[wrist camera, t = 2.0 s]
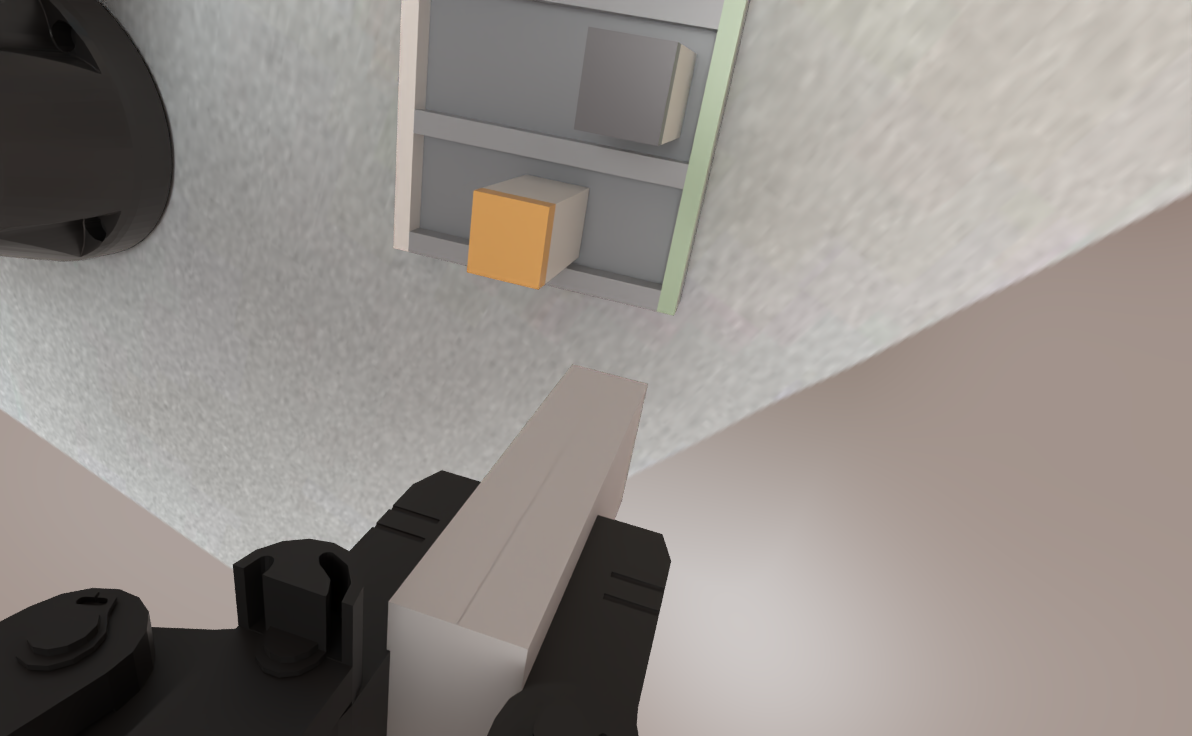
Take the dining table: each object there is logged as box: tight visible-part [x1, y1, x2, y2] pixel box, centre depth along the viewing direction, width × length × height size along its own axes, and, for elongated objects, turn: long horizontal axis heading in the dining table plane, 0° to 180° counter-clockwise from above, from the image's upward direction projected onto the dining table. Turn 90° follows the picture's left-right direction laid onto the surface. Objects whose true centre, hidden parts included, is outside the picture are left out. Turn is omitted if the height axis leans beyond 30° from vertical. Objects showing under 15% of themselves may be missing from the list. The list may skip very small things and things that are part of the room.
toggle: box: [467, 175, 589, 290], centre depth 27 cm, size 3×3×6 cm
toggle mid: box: [574, 27, 697, 146], centre depth 24 cm, size 3×3×6 cm
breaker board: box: [393, 0, 750, 316], centre depth 27 cm, size 14×18×2 cm
